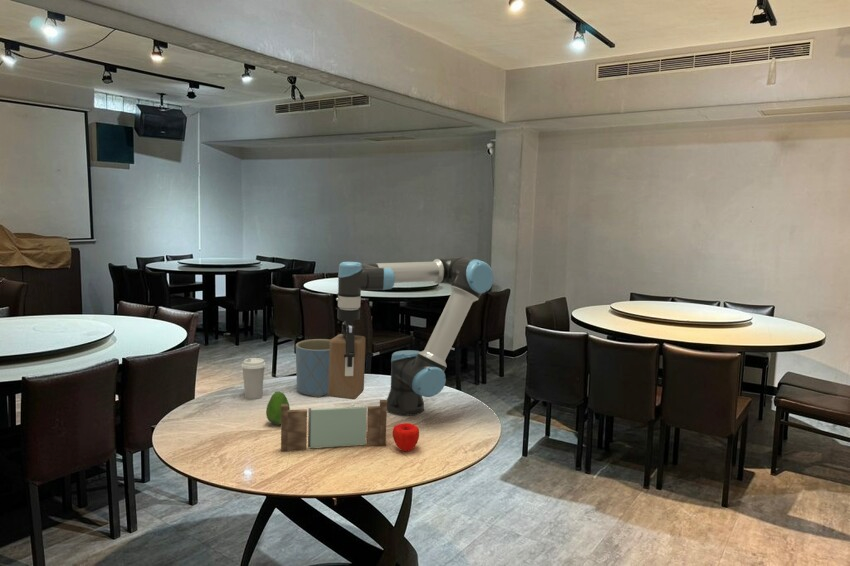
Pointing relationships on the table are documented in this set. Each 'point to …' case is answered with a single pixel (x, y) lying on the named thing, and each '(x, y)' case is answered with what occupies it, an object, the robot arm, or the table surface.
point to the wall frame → (297, 427)
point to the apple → (406, 436)
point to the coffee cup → (253, 377)
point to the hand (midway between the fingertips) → (346, 370)
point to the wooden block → (337, 380)
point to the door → (337, 427)
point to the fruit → (276, 407)
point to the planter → (313, 366)
